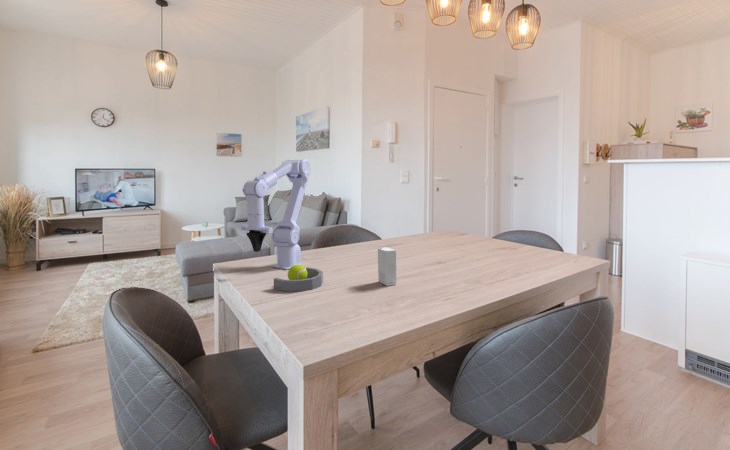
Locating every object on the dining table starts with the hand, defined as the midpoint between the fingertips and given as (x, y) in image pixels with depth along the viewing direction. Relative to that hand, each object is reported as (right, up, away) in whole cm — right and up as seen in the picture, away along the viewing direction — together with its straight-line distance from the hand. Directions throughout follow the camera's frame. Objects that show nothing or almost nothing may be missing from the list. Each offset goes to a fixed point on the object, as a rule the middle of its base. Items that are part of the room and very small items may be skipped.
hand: (257, 251), depth 136 cm
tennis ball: (+16, -11, -7) cm, 21 cm away
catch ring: (+19, -11, -9) cm, 23 cm away
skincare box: (+47, -11, -6) cm, 48 cm away
